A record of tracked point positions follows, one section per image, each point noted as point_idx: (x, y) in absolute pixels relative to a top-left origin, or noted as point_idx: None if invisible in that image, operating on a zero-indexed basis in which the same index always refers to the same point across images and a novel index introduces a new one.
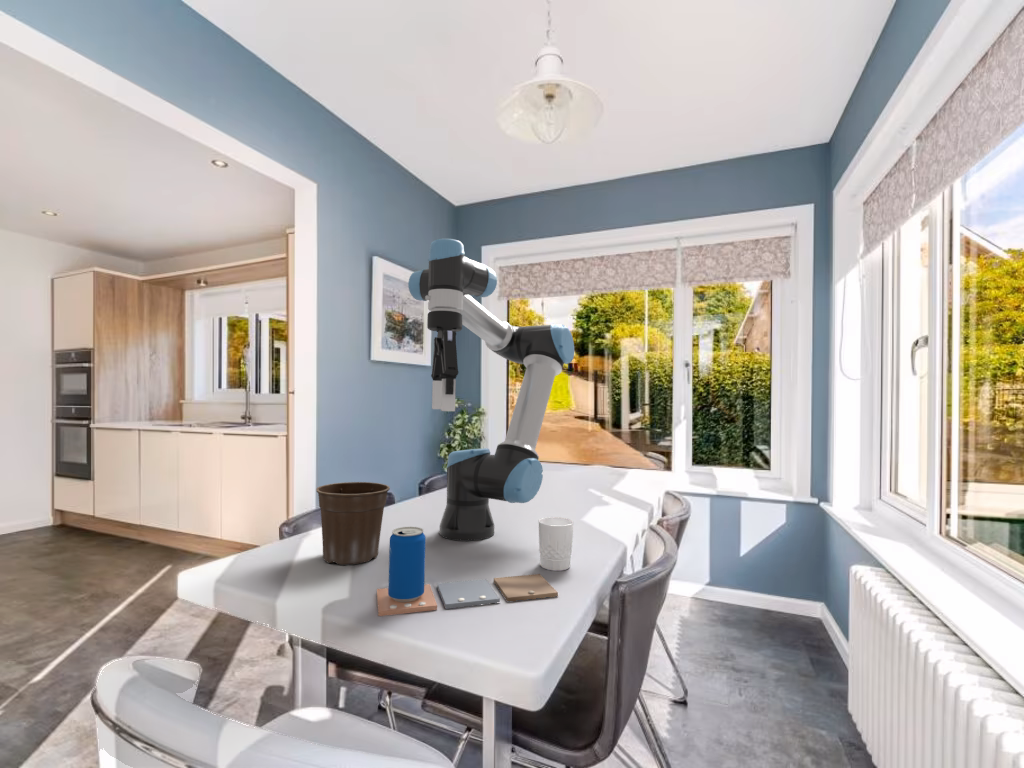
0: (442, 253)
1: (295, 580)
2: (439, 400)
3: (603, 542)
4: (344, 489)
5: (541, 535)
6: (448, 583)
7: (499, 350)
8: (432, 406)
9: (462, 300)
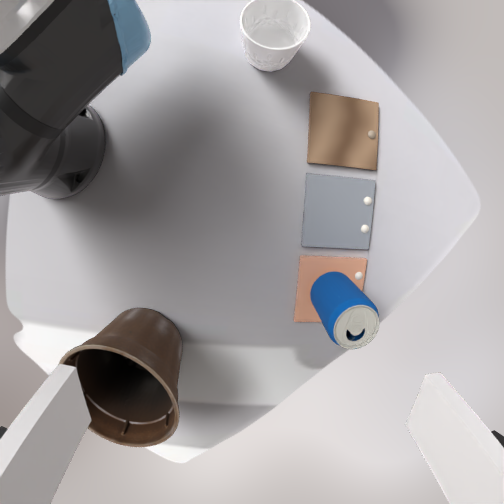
0: None
1: (222, 396)
2: (61, 424)
3: None
4: None
5: (278, 56)
6: (307, 231)
7: None
8: (86, 429)
9: None
